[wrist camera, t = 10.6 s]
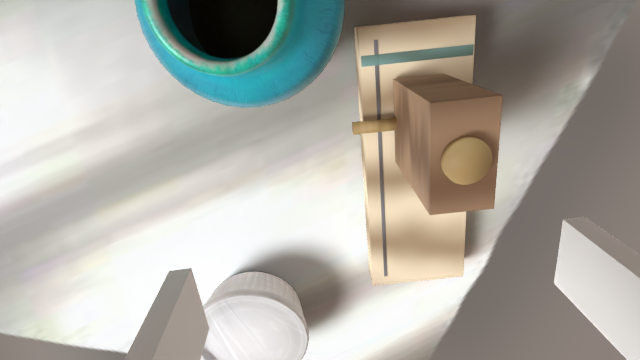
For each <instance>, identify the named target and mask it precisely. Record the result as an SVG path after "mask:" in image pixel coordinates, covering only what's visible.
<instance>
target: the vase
mask: <svg viewBox="0 0 640 360" xmlns="http://www.w3.org/2000/svg"><path fill="white" fill-rule="evenodd" d="M135 5H136V11H137V16H138V19H139V22H140V25H141V28H142V31H143V34H144V36H145V38H146V40H147V42H148V44H149V46H150V48H151V49H152V51H153V52H154V54H155V55H156V57H157V58H158V60H159V61H160V63H161V64H162V65H163V66H164V67H165V68H166V70H167V71H168V72H169V73H170V74H171V75H172V76H173V77H174V78H175V79H177V80H178V81H179V82H180V83H181V84H182V85H184V86H185V87H187V88H188V89H190V90H191V91H193V92H194V93H196V94H198V95H200V96H202V97H204V98H206V99H209V100H211V101H213V102H216V103H220V104H224V105H227V106H234V107H242V108H244V107H261V106H266V105H271V104H275V103H278V102H280V101H283V100H286V99H288V98H290V97H292V96H294V95H295V94H297V93H299V92H300V91H302V90H303V89H304V88H306V87H307V86H308V85H309V84H311V83H312V82H313V81H314V80H315V79H316V78H317V77H318V76H319V74H320V73H321V72H322V71H323V70H324V68H325V67H326V65H327V64H328V62H329V61H330V59H331V58H332V55H333V53H334V51H335V49H336V47H337V45H338V42H339V38H340V35H341V32H342V28H343V21H344V14H345V0H135Z"/></svg>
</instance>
